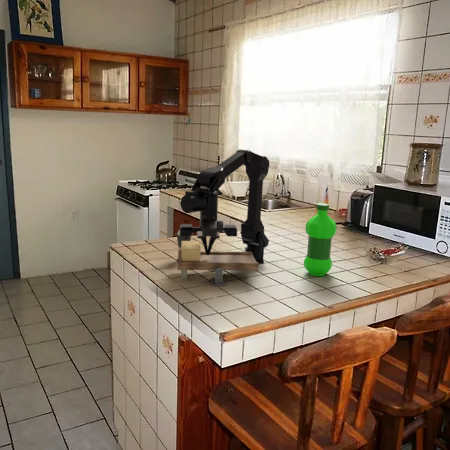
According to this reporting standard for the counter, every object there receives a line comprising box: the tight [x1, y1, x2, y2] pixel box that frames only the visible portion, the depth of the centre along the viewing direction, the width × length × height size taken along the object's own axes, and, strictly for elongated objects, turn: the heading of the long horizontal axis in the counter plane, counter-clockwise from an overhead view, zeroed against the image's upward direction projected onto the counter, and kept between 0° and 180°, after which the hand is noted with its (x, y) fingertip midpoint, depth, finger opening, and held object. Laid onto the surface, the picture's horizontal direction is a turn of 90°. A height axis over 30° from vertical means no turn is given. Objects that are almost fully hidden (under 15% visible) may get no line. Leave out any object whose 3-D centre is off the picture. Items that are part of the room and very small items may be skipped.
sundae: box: [174, 221, 194, 262], centre depth 169 cm, size 7×7×15 cm
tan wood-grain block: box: [181, 240, 201, 262], centre depth 152 cm, size 6×10×5 cm, turn 6°
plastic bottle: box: [303, 202, 338, 277], centre depth 158 cm, size 10×10×25 cm
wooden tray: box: [177, 247, 260, 271], centre depth 153 cm, size 26×15×4 cm, turn 96°
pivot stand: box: [180, 268, 226, 287], centre depth 153 cm, size 14×19×6 cm
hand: (207, 255), depth 153 cm, fingers closed
